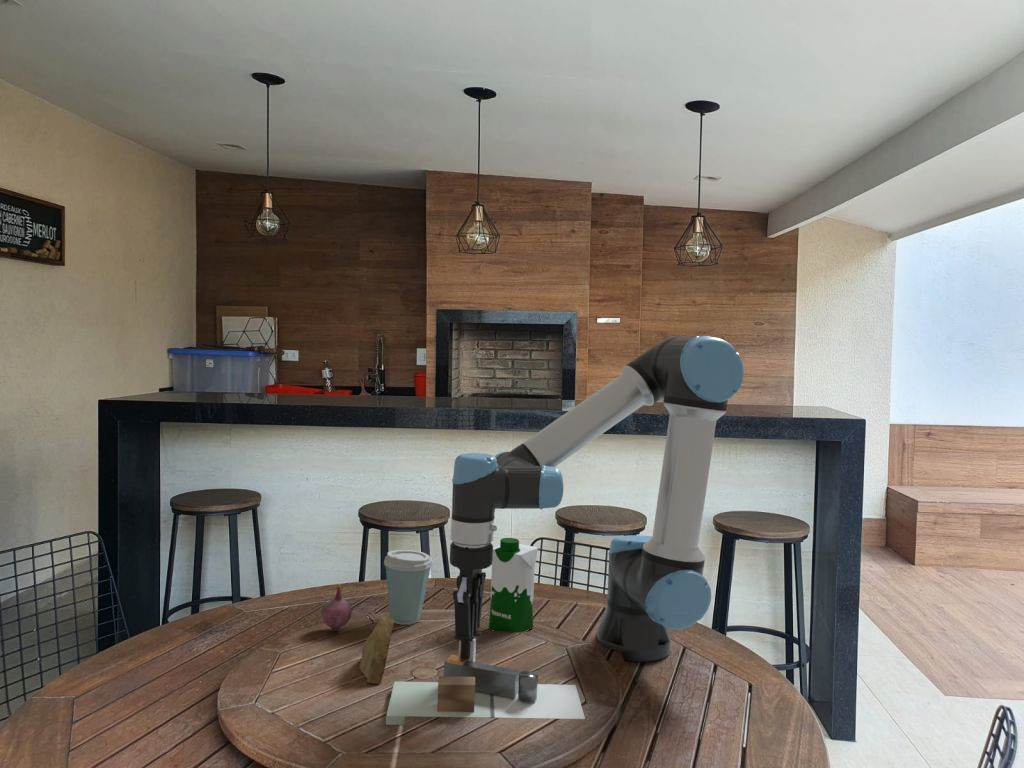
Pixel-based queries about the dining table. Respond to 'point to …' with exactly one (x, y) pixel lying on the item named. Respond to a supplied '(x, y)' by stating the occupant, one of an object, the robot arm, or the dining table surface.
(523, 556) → the milk carton
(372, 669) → the rock
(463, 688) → the block
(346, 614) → the vegetable
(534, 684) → the bar
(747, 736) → the dining table surface
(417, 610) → the disposable coffee cup
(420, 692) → the door plate
